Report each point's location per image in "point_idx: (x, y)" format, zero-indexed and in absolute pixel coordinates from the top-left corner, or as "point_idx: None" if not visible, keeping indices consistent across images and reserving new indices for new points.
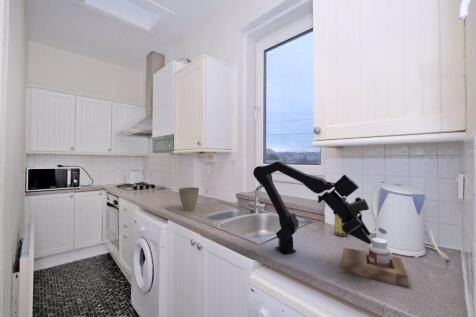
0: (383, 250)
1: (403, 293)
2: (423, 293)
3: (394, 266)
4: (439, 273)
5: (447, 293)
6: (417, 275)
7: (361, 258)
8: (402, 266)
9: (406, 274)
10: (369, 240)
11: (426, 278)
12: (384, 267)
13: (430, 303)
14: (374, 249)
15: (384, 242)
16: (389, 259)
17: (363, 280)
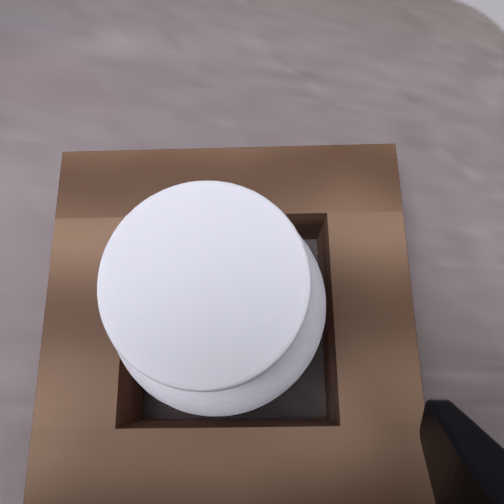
0: (308, 255)
1: (470, 209)
2: (396, 115)
3: None
4: (75, 3)
5: (319, 17)
6: (168, 109)
7: (247, 477)
8: (235, 158)
9: (372, 148)
10: (480, 438)
11: (185, 73)
12: (338, 283)
13: (489, 103)
14: (311, 354)
15: (266, 213)
16: None
17: None
